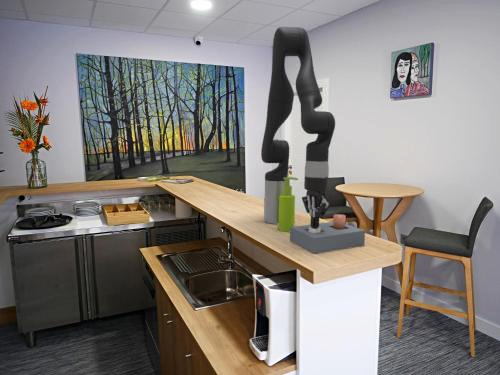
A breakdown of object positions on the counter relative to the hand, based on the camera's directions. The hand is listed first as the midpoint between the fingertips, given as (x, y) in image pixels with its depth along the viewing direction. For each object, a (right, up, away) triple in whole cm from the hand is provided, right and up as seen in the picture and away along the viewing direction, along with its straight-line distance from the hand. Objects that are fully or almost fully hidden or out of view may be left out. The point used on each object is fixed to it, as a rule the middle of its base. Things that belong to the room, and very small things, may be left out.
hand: (314, 227), depth 121 cm
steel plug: (0, -5, +1) cm, 5 cm away
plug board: (+5, -6, +3) cm, 8 cm away
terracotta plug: (+9, -1, +5) cm, 10 cm away
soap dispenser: (-7, -3, +20) cm, 21 cm away
